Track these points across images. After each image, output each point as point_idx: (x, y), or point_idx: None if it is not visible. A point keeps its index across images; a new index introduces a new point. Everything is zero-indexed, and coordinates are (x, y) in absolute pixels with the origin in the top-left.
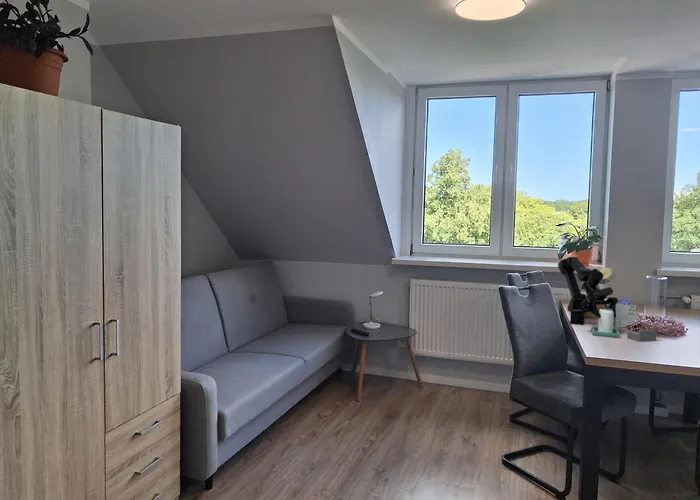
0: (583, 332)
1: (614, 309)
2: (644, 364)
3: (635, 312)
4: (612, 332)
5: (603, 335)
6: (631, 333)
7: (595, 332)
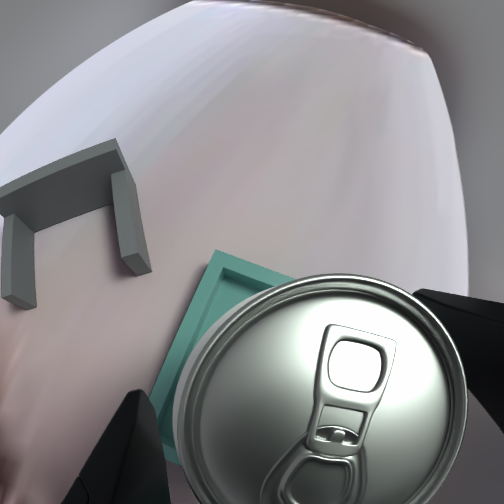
0: None
1: (93, 482)
2: (308, 6)
3: None
4: None
5: None
6: (133, 218)
7: None
